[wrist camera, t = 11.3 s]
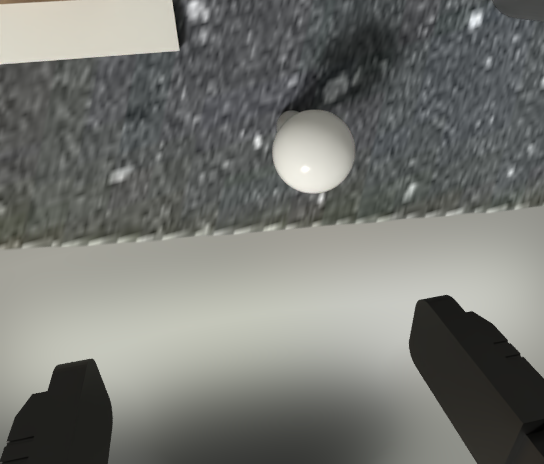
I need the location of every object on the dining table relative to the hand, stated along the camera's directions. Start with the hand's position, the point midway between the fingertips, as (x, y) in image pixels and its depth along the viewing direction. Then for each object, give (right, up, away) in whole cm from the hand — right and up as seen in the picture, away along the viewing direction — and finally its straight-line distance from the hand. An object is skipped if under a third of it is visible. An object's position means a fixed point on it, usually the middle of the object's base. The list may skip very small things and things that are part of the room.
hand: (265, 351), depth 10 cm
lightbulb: (+2, +13, +29) cm, 32 cm away
